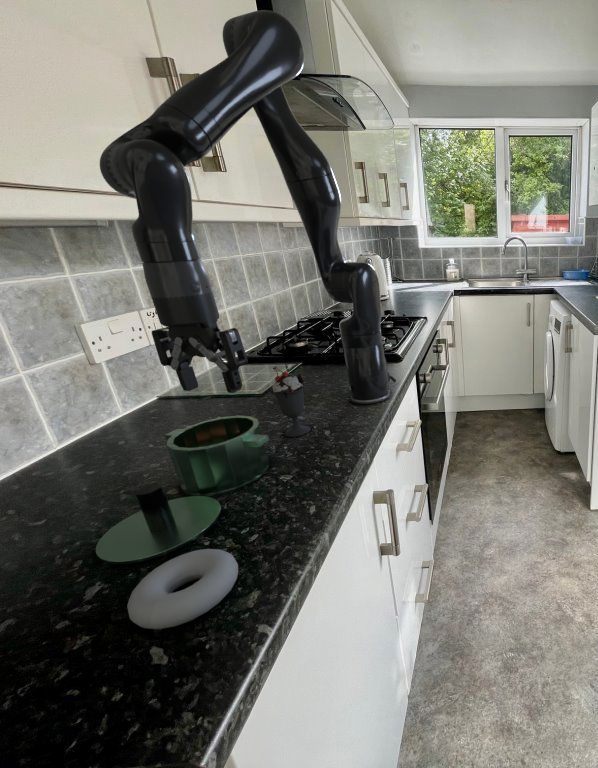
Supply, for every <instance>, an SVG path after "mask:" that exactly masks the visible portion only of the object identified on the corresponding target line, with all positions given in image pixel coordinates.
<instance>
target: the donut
mask: <svg viewBox="0 0 598 768" xmlns="http://www.w3.org/2000/svg"><path fill="white" fill-rule="evenodd" d="M238 575H239V563H238V562H237V560H236V558H235V557H234V555H233V554H231V553H230V552H227V551H226V550H223V549H217V548H204V549H203V548H202V549H197V550H193V551H189V552H186V553H183V554H180V555H178V556H175V557H174V558H171V559H169V560H167V561H165V562H164V563H162V564H160V565H159V566H157V567H156V568H154V569H153V570H152V571H150V572H149V573H148V574H146V575H145V576H144V577H143V578H142V579H141V580H140V581H139V583H138V584H137V585H136V587H134V588H133V590H132V591H131V594H130V597H129V599H128V602H127V605H126V609H127V613H128V616H129V620H130V621H131V622H132V623H134V624H135V625H136V626H139V627H140V628H143V629H148V630H162V629H168V628H174V627H179V626H180V625H183V624H186V623H188V622H192V621H193V620H195V619H197V618H198V617H199V618H200V616H202V615H204V614H206V613H208V612H210V610H212V609H213V608H214V607H216V606H217V605H218V604H220V602H221V601H222V600H224V598H226V596H227V595H228V594H229V593H230V592H231V591H232V589H233V588H234V585H235V584H236V581H237V580H238ZM196 580H198V581H196ZM193 581H196V582H194V583H193V584H192V585H190V586H188V587H186V588H184V589H181V590H179V591H176V590H178V589H179V588H181V587H182V586H184V585H187V584H188V583H191V582H193Z"/></svg>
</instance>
